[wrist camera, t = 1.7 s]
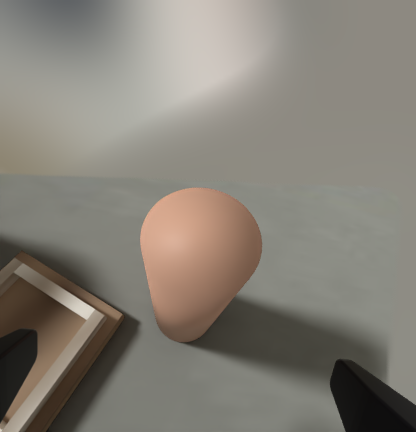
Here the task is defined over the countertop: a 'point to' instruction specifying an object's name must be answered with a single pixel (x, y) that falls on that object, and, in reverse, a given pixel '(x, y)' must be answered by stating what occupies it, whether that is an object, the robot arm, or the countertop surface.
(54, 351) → the socket plinth
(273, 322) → the countertop surface
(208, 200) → the post
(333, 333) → the countertop surface
